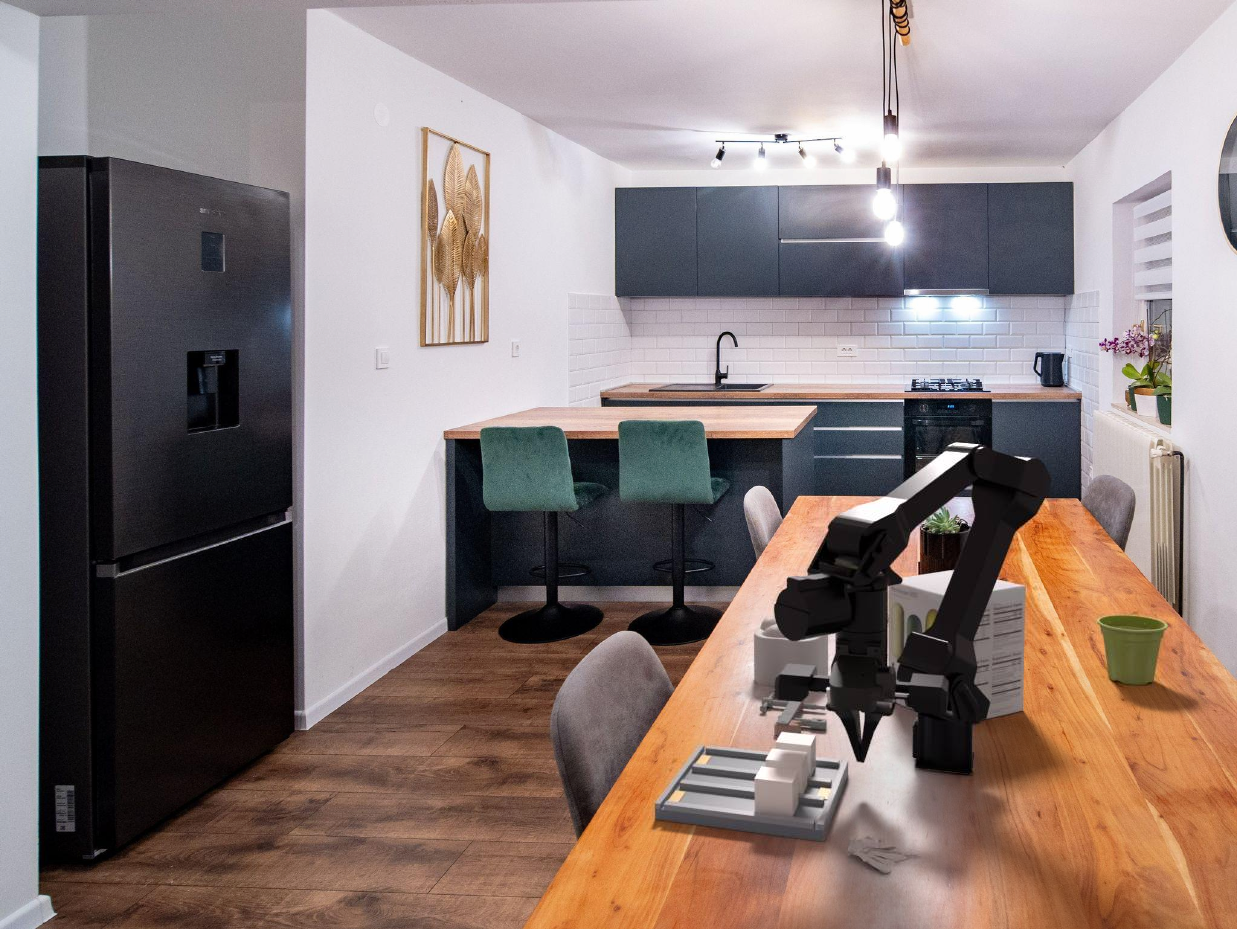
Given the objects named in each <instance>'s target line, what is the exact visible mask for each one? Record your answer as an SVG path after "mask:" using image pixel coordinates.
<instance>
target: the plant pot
mask: <svg viewBox="0 0 1237 929" xmlns="http://www.w3.org/2000/svg"><path fill="white" fill-rule="evenodd" d="M1096 622H1097V625H1098V626H1099V628H1100V632H1101V635H1102V638H1103V639H1102V640H1103V645H1104V652H1105V658H1106V659H1105V661H1106V668H1107V676H1108V679H1110V680H1112V681H1119V682H1120V683H1122V684H1124V685H1133V686H1134V685H1136V686H1137V685H1138V686H1142V685H1147V684H1148V683H1154V682H1155V675H1156V669H1157V664H1158V658H1159V652H1160V647H1161V643H1162V639H1163V638H1164V636H1165V631H1166V630H1167V629H1168V628H1169V626H1168V624H1167V623H1166V622H1165V621H1163V620H1161V619H1158V618H1155V617H1154V618H1153V617H1149V616H1142V615H1134V614H1133V615H1132V614H1111V615H1109V614H1108V615H1104V616H1100V617H1099V618H1097V619H1096Z"/></svg>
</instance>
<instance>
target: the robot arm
mask: <svg viewBox="0 0 1237 929" xmlns="http://www.w3.org/2000/svg"><path fill="white" fill-rule="evenodd" d="M1051 484H1052V478H1051V474H1050V472H1049V470H1048V469H1047V466H1046V464H1045V463H1044V462H1043V461H1042V459H1040V458H1037V457H1031V456H1030V457H1028V456H1016V455H1011V454H1010V455H1009V454H1006V453H1003V452H999V451H996V450H994V449H992V448H990V447H987V446H985V445H984V444H978V443H977V444H975V443H966V442H965V443H964V442H954V443H952V444H949V445H947V446H946V447H945V448H943V451H942V454H939V455H938V456H937V457H935V459H933V460H932V461H930V462H929V463H928V464H926V466H924V467H922V468H921V469H920V470H919V471H918V472H916V473H914V474H913V475H912V476H911V477H909V478H908V479H906V480H905V481H904V482H903V483H901V484H900V485H899V486H897V487H896V488H895V489H893V490H892V491H890V492H889V493H888V494H887V495H885V496H884V497H882V498H879V499H878V500H875V501H871V502H867V503H863V504H858V505H856V506H854V507H851V508H849V509H848V510H845V511H843V512H841V513H839V514H838V515H836V516H834V517H833V518H832V519H831V521H829V524H828V525H827V530H828V531H827V532H826V534H825V536H824V538H823V540H822V542H821V543H820V545H819V547H818V549H817V551H816V553H815V554H814V556H813V558H812V559H811V562H810V564H809V565H808V567H807V570H806V573H807V575H805V576H803V575H802V576H801V575H793V576H788V577H787V578H786V588H784V589H782V590H781V591H780V592H779V594H778V595H777V598H776V600H775V603H774V604H773V616H774V619H775V620H776V624H777V626H778V628H779V630H780V632H781V633H782V634H783V635H784V637H785V638H787V639H788V640H790V641H800V640H805V639H810V638H815V637H820V636H825V635H828V636H830V635H834V634H835V640H834V641H835V648H834V649H835V654H834V656H833V659H832V663H831V664H830V675H828V676H824V675H817V668H816V666H815V665H802V664H790V663H787V664H786V665H785V666H784V667H783V668H782V669H781V671H780V672H779V674H778V675H777V677H776V679H775V686H774V690H775V696H774V699H776V700H777V701H787V702H790V701H795V702H802V701H803V700H804V701H805V700H806V698H807V697H808V696H809V695H810V692H814V693H822V694H823V693H824V694H825V693H826V698H827V699H826V700H827V701H826V704H825V706H826V709H825V711H829V712H832V713H835V714H836V716H837V717H838V718H839V720H840V721H841V723H842V725H843V727H844V729H845V731H846V735H847V737H848V740H849V743H850V747H851V749H852V751H853V755H854V757H855V761H856V762H857V763H861V764H862V763H863V764H864V763H865V761H866V759H867V755H868V752H869V750H870V746H871V744H872V741H873V736H874V734H875V731H876V730H877V727H878V726H879V723H880V722H881V720H882V718H883V717H892V716H893V714H894V712H895V709H896V705H897V703H896V699H903V700H904V701H905V704H906V707H905V708H907V707H909V708H908V709H910V708H912V709H913V711H914V712H915V713H917V718H914V720H913V723H912V735H911V736H912V738H911V742H912V743H911V744H912V747H911V749H912V750H911V753H912V754H911V755H912V756H911V757H912V758H913V759H915V763H914V768H916V769H917V770H926V771H935V772H943V773H952V774H953V773H955V774H961V775H962V774H963V775H972V774H973V772H974V763H975V752H974V726H977V725H980V722H981V721H984V720H987V719H986V718H987V715H988V711H989V707H990V701H989V699H988V698H987V697H986V696H985V695H984V694H983V693H982V691H981V690H980V689H979V688H978V687H977V686H976V685H975V684H974V680H975V676H976V673H977V668H978V666H977V661H976V655H975V650H974V644H973V642H974V638H975V635H976V633H977V630H978V628H979V625H980V622H981V620H982V617H983V615H984V612H985V609H986V607H987V604H988V602H989V599H990V597H991V594H992V591H993V589H994V586H995V584H996V581H997V580H998V578H999V576H1000V573H1001V570H1002V568H1003V565H1004V562H1005V560H1006V558H1007V555H1008V552H1009V549H1010V547H1011V546H1012V542H1013V539H1014V536H1015V534H1016V533H1017V531H1018V530H1019V529H1021V528H1022V527H1023V526H1024V525H1026V524H1027V523H1028V522H1030V521H1031V520H1032V519H1033V518H1034V517H1036V515H1037V514H1039V511H1040V508H1041V507H1042V506H1043V504H1044V501H1045V500H1046V499H1047V496H1048V494H1049V491H1050V489H1051ZM970 486H971V490H970V498H971V503H972V504H971V505H972V509H973V515H974V517H973V521H972V523H971V526H970V529H969V531H968V534H967V536H966V538H965V541H964V544H963V546H962V549H961V552H960V554H959V556H958V560H957V561H956V564H955V567H954V569H953V570H954V571H953V574H952V576H951V579H950V581H949V584H948V587H947V589H946V592H945V594H944V597H943V599H942V602H941V604H940V607H939V609H938V612H937V614H936V617H935V620H934V622H933V624H932V626H931V627H929V628H928V629H927V630H926V631H924V632H923V633H922V634H919V633H915V632H911V633H910V634H909V636H908V637H907V639H906V643H905V647H904V650H903V652H902V654H901V656H900V657H899V658H898V660H897V663H900V664H899V667H898V670H897V677H896V671H895V667H893V666H889V586H892V585H897V584H901V583H902V582H903V579H902V578H903V577H901V576H900V575H899V574H898V573H896V572H895V571H894V569H892V565H893V564H894V562H895V561H896V560H897V559H898V558H899V557H900V556H901V555H902V553H903V552H905V550H906V549H907V547H908V546H909V543H910V542H909V541H910V538H911V533H913V531H914V530H916V528H917V527H919V526H920V525H921V524H922V523H924V521H926V520H927V519H929V518H930V517H931V516H933V515H934V514H936V512H938V511H939V510H940V509H941V508H943V507H944V506H945V505H947V504H948V503H949V502H950V501H952V500H953V499H954V498H955V497H957V496H958V495H960V493H962V492H963V491H964V490H966V489H967V488H968V487H970ZM835 562H839V563H843V564H847V565H851V566H856V567H858V568H857V569H854V568H850V567H845V566H841V565H837V564H834V563H835ZM808 574H810V575H808ZM896 678H897V680H898V682H897V681H896ZM804 701H803V702H804ZM912 709H911V710H912ZM860 713H863V714H864V717H863V718H864V719H863V720H864V721H863V729H862V726H861V725H862V724H861V716H860Z"/></svg>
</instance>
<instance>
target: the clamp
mask: <svg viewBox="0 0 1237 929" xmlns="http://www.w3.org/2000/svg"><path fill="white" fill-rule="evenodd" d="M769 694H770V695H769V696H768V697H766V696H765V697H762V700H761V705H760V706H759V711H760V712H761V713H766V712H767V708H773V707H781V708H784V710H783V711H782V713H781V714H780V715H778V718H777V720H776V722H775V723H774V726H773V727H774V733H773V734H776V735H777V737H779V736H780V734H781V732H787V733H797V734H802V727H809V728H810V729H814V730H824V731H825V730H827V729H828V728H827V725H828V724H827V722H828V721H827V719H826V718H818V717H817V718H815V717H811V718H810V719H809V718H803V717H802V718H800V717H795V715H796V714H797V713H798V712H797V711H803V710H811V711H816V710H817V711H818V710H821V711H822V710H823V711H826V705H818V704H815V703H808V702H807V703H806V702H804V701H805V699H804V700H803V701H802V702H795V701H784V700H777V699H776V700H775V699H774V698H775V689H771V690H770V692H769ZM776 735H775V736H776Z"/></svg>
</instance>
